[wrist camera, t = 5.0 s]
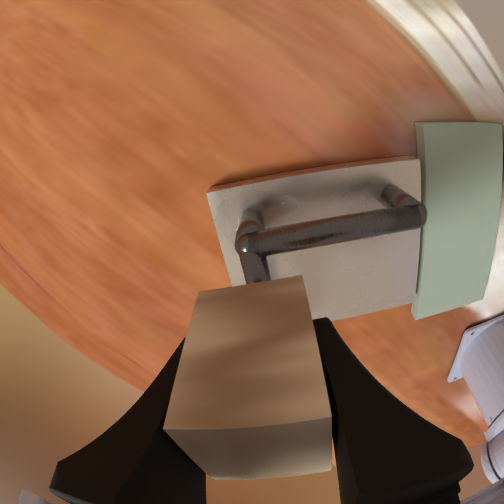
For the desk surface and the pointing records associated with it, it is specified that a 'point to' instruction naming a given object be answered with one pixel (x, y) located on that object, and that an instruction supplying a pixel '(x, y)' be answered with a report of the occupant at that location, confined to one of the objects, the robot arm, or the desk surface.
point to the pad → (457, 212)
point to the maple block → (252, 385)
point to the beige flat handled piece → (327, 232)
